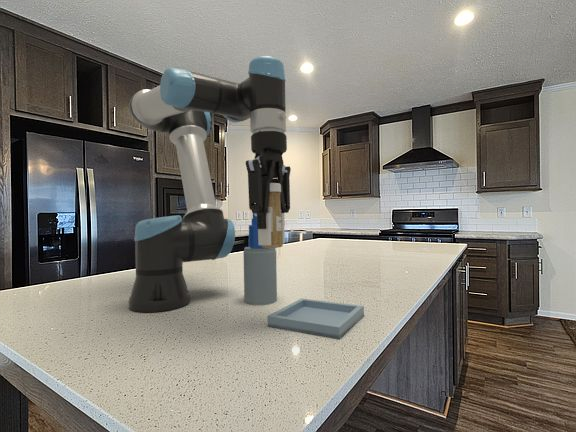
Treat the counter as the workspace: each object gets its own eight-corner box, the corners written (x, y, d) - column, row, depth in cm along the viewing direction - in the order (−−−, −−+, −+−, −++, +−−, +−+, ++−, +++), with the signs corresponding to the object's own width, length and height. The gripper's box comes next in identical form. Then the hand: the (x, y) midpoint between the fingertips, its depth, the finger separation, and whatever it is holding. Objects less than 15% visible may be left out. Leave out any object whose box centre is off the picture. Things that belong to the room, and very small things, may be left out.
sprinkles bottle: (286, 247, 70) (284, 182, 71) (267, 248, 68) (265, 182, 68) (276, 245, 74) (274, 185, 74) (257, 247, 72) (255, 184, 72)
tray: (267, 326, 71) (267, 315, 71) (301, 307, 85) (301, 298, 85) (339, 339, 63) (339, 327, 63) (363, 315, 77) (363, 305, 77)
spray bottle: (268, 306, 87) (266, 208, 86) (238, 303, 90) (236, 209, 90) (282, 297, 95) (280, 208, 95) (253, 295, 98) (252, 209, 98)
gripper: (258, 121, 62) (262, 248, 62) (304, 138, 77) (307, 241, 77) (227, 128, 66) (230, 247, 66) (276, 143, 81) (279, 240, 81)
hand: (272, 243), depth 71 cm, fingers closed on sprinkles bottle, 4 cm apart
